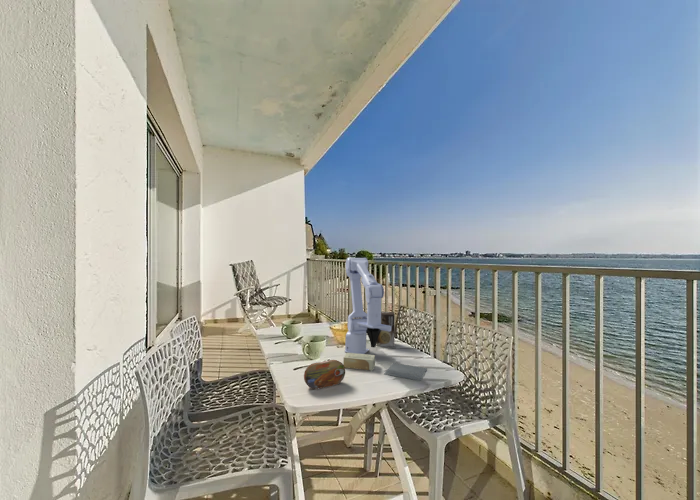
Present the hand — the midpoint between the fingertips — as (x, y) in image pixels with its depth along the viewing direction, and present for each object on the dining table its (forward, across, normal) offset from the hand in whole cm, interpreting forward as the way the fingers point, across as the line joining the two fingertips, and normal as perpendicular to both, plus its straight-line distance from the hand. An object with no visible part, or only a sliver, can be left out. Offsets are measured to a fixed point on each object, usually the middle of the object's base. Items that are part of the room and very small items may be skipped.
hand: (373, 346), depth 131 cm
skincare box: (+6, +1, -2) cm, 6 cm away
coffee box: (+8, -4, +30) cm, 31 cm away
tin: (+8, -9, -25) cm, 28 cm away
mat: (+8, +14, 0) cm, 16 cm away
